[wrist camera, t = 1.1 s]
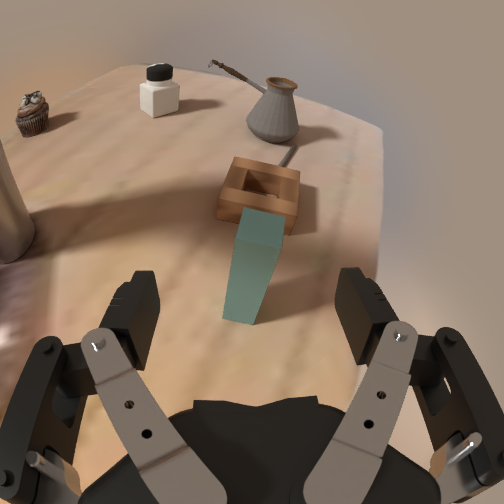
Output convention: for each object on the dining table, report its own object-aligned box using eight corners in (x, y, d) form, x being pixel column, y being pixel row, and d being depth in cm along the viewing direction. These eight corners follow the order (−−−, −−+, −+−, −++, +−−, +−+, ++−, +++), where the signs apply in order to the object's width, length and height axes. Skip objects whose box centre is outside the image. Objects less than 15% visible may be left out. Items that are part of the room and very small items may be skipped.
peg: (222, 318, 33) (235, 238, 23) (228, 292, 36) (243, 207, 25) (252, 325, 33) (281, 248, 23) (257, 298, 36) (285, 216, 25)
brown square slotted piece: (216, 218, 43) (218, 198, 40) (231, 175, 50) (234, 156, 47) (289, 235, 43) (297, 216, 40) (294, 189, 50) (300, 171, 47)
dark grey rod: (272, 182, 50) (273, 179, 50) (268, 181, 50) (269, 177, 50) (296, 147, 60) (297, 144, 59) (292, 146, 60) (293, 143, 59)
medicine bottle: (179, 111, 64) (181, 65, 54) (152, 118, 60) (152, 71, 51) (164, 102, 66) (166, 59, 57) (140, 109, 63) (139, 65, 53)
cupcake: (20, 128, 54) (13, 97, 46) (51, 116, 58) (46, 84, 51) (18, 143, 50) (8, 108, 42) (52, 130, 54) (45, 94, 46)
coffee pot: (298, 130, 65) (314, 74, 54) (292, 153, 58) (310, 87, 46) (212, 110, 66) (218, 54, 54) (194, 129, 59) (198, 65, 47)
